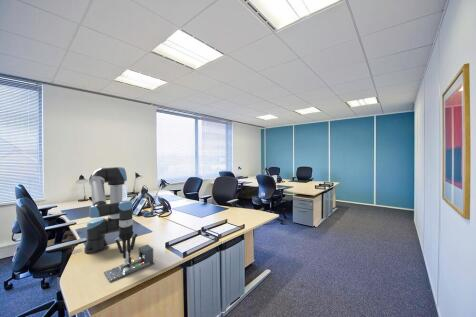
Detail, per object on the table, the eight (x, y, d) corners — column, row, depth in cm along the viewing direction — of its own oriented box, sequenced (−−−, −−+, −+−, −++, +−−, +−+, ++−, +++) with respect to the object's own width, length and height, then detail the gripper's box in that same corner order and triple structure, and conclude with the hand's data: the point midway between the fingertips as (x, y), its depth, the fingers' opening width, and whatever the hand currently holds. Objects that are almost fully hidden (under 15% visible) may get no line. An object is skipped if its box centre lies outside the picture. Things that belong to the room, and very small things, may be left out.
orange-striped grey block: (125, 264, 130) (125, 255, 130) (146, 257, 139) (146, 248, 139) (130, 269, 124) (130, 260, 124) (151, 261, 133) (151, 252, 133)
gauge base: (103, 273, 123) (103, 257, 123) (146, 257, 142) (146, 243, 142) (109, 282, 114) (109, 265, 114) (154, 264, 133) (154, 249, 133)
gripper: (116, 229, 119) (117, 268, 119) (139, 224, 128) (139, 260, 128) (112, 226, 124) (113, 264, 124) (134, 221, 133) (135, 256, 133)
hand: (126, 262), depth 126 cm, fingers closed
